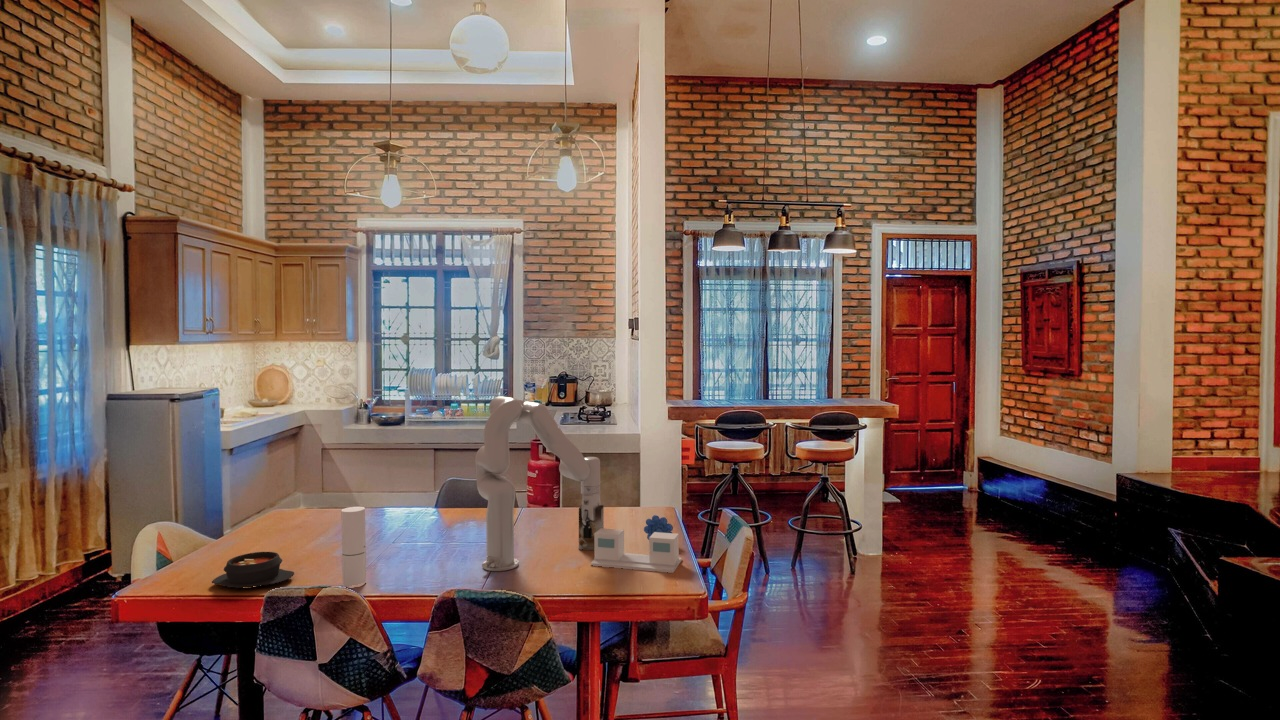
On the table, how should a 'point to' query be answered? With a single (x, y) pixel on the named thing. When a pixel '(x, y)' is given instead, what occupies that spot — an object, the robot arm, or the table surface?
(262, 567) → the casserole
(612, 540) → the rail board
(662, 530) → the grapes
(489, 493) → the robot arm
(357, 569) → the cylindrical container
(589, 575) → the table surface
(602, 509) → the coffee box
